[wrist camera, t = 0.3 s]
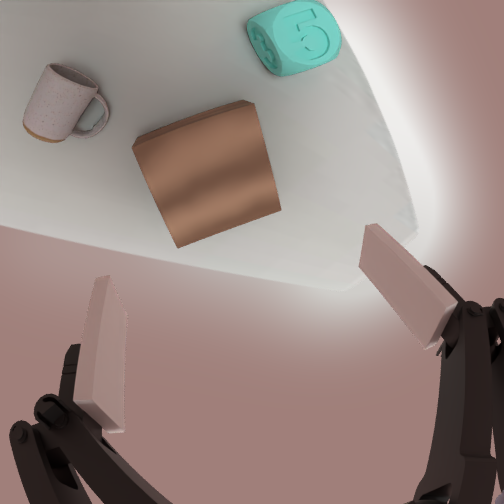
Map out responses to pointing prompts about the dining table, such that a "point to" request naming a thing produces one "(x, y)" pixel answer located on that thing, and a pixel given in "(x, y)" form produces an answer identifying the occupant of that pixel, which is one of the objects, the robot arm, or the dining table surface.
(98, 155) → the dining table surface
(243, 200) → the walnut block
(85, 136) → the ceramic mug
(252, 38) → the decorative dice
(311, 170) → the dining table surface
